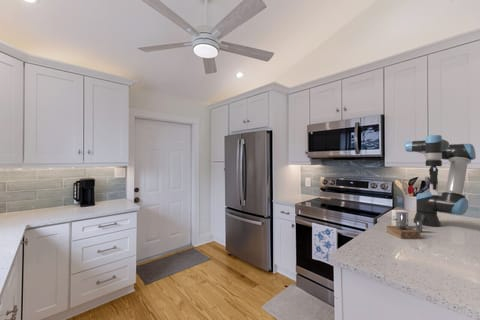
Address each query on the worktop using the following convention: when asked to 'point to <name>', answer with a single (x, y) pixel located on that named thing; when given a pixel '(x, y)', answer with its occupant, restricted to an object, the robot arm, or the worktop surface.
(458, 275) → the worktop surface
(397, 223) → the ink box
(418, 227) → the short pin
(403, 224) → the long pin
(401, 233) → the hole block
